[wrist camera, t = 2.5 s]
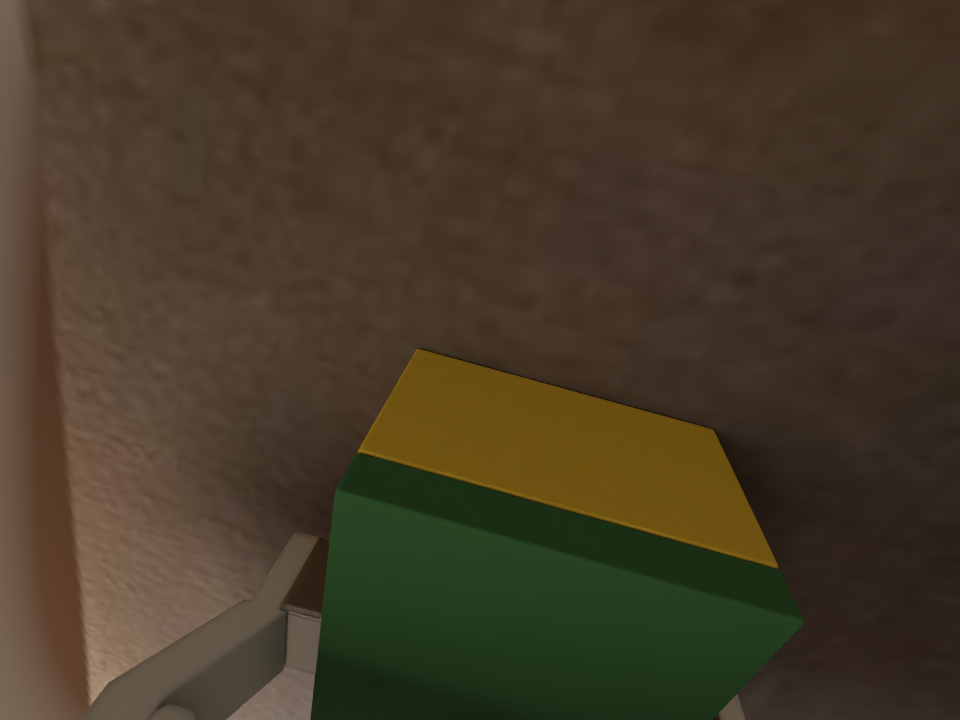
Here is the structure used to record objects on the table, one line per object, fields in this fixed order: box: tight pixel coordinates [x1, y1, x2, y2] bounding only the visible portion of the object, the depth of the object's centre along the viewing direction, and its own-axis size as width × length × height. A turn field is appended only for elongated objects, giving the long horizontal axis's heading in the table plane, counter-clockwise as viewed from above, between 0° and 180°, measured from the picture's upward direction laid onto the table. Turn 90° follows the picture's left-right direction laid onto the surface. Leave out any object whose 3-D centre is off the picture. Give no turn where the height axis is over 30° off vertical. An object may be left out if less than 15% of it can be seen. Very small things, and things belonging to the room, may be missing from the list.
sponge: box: [311, 349, 804, 720], centre depth 10 cm, size 9×6×4 cm, turn 167°
